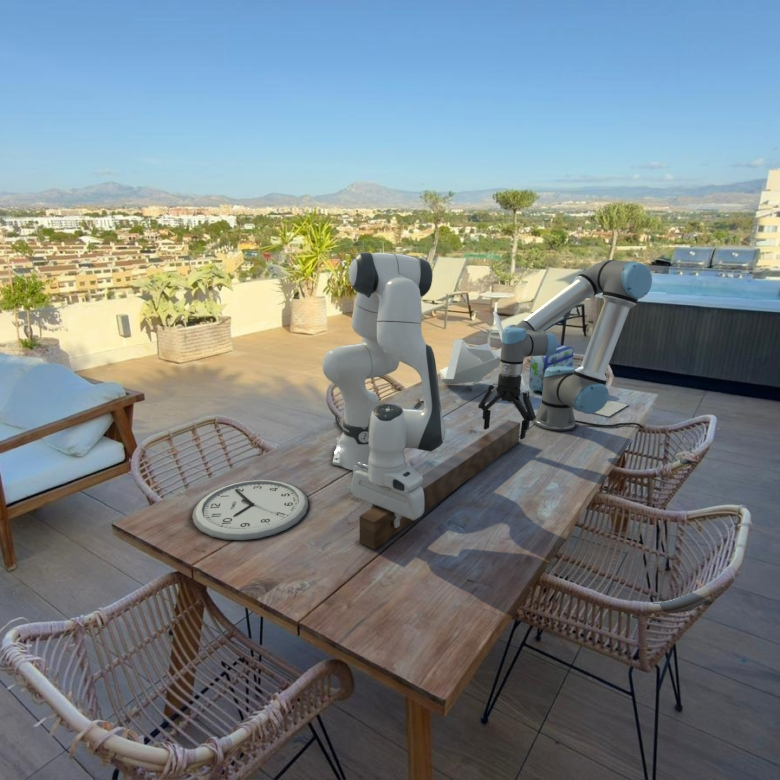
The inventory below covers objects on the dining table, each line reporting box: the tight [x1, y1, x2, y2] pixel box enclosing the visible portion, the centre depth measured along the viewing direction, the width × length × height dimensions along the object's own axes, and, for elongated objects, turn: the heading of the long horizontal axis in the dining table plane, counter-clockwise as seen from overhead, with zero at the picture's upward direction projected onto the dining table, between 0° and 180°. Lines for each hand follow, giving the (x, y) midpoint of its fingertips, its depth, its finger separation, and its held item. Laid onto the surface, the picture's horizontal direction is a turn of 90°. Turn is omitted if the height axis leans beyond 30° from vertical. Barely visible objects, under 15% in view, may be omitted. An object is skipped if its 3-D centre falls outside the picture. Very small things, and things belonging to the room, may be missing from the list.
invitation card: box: [594, 399, 629, 418], centre depth 226 cm, size 21×1×15 cm
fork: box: [414, 393, 424, 409], centre depth 226 cm, size 3×16×2 cm, turn 160°
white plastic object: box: [438, 310, 531, 396], centre depth 245 cm, size 37×45×31 cm
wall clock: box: [191, 479, 309, 541], centre depth 140 cm, size 30×2×30 cm
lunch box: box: [528, 344, 574, 393], centre depth 247 cm, size 26×11×21 cm, turn 134°
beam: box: [359, 420, 521, 550], centre depth 156 cm, size 83×5×7 cm, turn 143°
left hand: (385, 522), depth 130 cm, fingers closed on beam, 4 cm apart
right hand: (504, 433), depth 181 cm, fingers open, 13 cm apart
